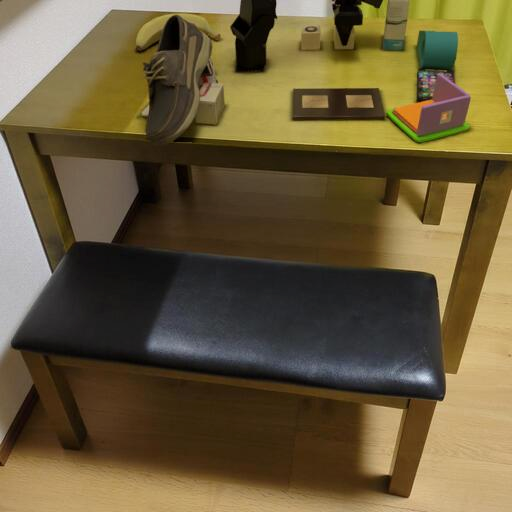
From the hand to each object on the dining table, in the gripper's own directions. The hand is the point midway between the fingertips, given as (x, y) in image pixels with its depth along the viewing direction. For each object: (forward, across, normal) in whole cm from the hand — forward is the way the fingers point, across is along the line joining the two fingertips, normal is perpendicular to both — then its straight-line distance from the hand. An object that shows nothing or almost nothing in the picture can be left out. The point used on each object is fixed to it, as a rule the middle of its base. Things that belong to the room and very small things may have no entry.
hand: (343, 41), depth 140 cm
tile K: (+1, 0, 0) cm, 1 cm away
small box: (-2, -30, +28) cm, 41 cm away
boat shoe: (-3, -34, +33) cm, 48 cm away
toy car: (+1, -19, +33) cm, 38 cm away
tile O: (+1, 0, +8) cm, 8 cm away
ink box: (+1, +1, -12) cm, 12 cm away
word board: (+1, -30, +3) cm, 30 cm away
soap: (+2, -30, +40) cm, 50 cm away
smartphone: (+1, -23, -18) cm, 29 cm away
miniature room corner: (+1, -37, -14) cm, 40 cm away
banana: (+1, +4, +40) cm, 41 cm away
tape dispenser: (+1, -9, -20) cm, 22 cm away
